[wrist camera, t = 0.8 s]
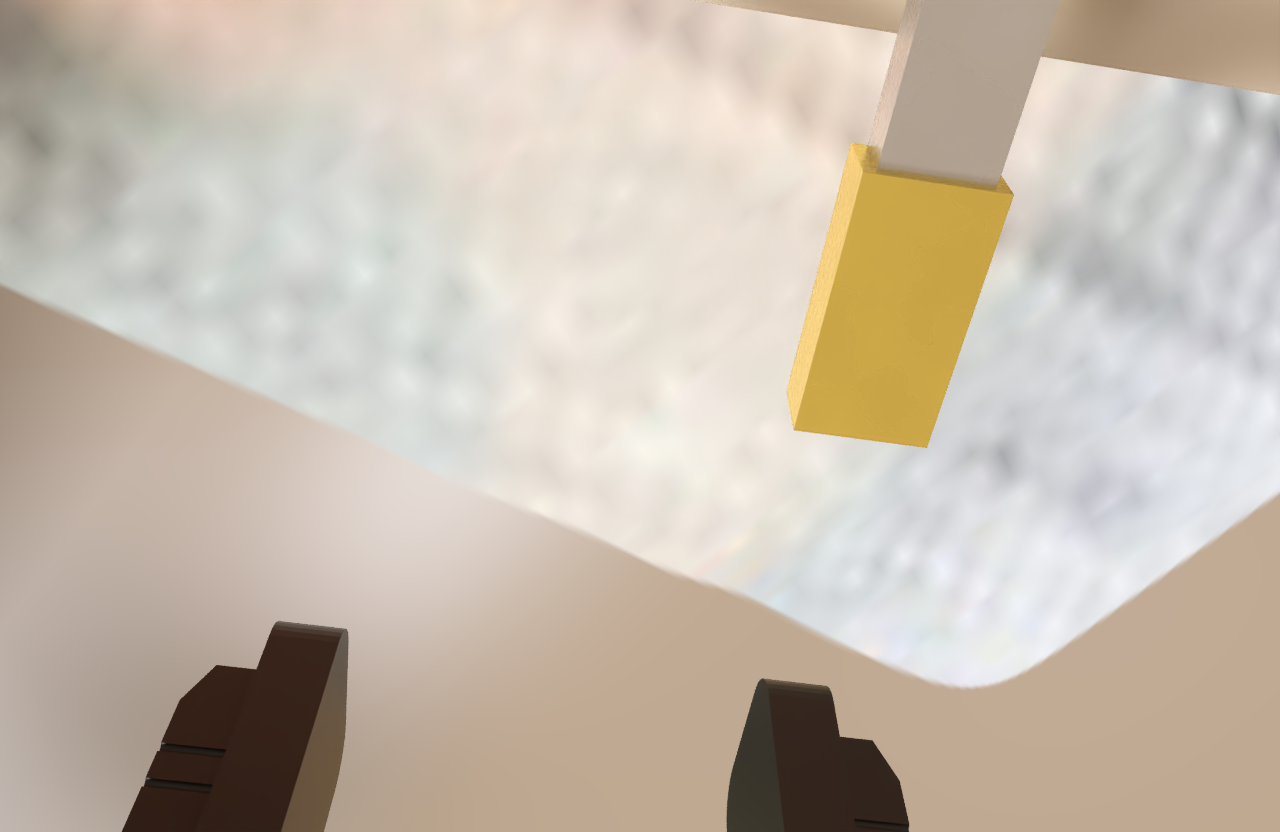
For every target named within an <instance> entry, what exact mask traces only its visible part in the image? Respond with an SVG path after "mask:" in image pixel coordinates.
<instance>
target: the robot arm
mask: <svg viewBox="0 0 1280 832" xmlns="http://www.w3.org/2000/svg"><path fill="white" fill-rule="evenodd" d="M347 669H348V631H347V629H342V628H334V627H325V626H316V625H308V624H299V623H291V622H282V621H278V622H276V623H275V625H274V627H273V628H272V630H271V633H270V635H269V638H268V640H267V643H266V646H265V649H264V651H263V654H262V656H261V659H260V661H259V664H258V667H257V669H247V668H237V667H229V666H220V665H216V666H215V667H214V668H213V669H212V670H211V671H210V672H209V673H208V674H207V675H206V676H205V677H204V678H203V679H201V680H200V681H199V682H198V683H197V684H196V685H195V686H194V687H193V688H192V689H191V690H190V691H189V692H188V693H187V694H186V695H185V696H184V697H182V698H181V699H180V701H179V703H178V705H177V708H176V710H175V712H174V714H173V717H172V719H171V721H170V724H169V726H168V728H167V730H166V733H165V735H164V737H163V740H162V742H161V748H160V751H157V753H156V755H155V758H154V760H153V762H152V764H151V767H150V769H149V771H148V774H147V776H146V781H145V785H144V787H141V789H140V792H139V794H138V796H137V798H136V801H135V803H134V805H133V808H132V810H131V812H130V814H129V817H128V819H127V821H126V824H125V826H124V828H123V830H122V832H324V829H325V825H326V821H327V818H328V813H329V810H330V806H331V803H332V799H333V796H334V792H335V788H336V784H337V780H338V775H339V770H340V765H341V759H342V754H343V746H344V739H345V726H346V699H347V698H346V697H347ZM908 829H909V821H908V816H907V812H906V807H905V803H904V799H903V794H902V789H901V785H900V781H899V779H898V778H897V776H896V775H895V773H894V772H893V770H892V769H891V767H890V766H889V765H888V763H887V762H886V760H885V758H884V757H883V756H882V754H881V753H880V751H879V750H878V748H877V747H876V745H875V744H874V742H873V741H872V740H863V739H854V738H846V737H840V735H839V730H838V724H837V718H836V713H835V707H834V701H833V697H832V693H831V691H830V689H829V687H827V686H822V685H813V684H805V683H796V682H786V681H779V680H770V679H761V680H760V681H759V682H758V684H757V687H756V690H755V693H754V696H753V700H752V703H751V707H750V710H749V714H748V717H747V720H746V724H745V727H744V731H743V734H742V738H741V741H740V745H739V748H738V752H737V755H736V758H735V762H734V765H733V769H732V773H731V778H730V785H729V792H728V801H727V832H909V830H908Z"/></svg>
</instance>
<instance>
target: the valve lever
mask: <svg viewBox="0 0 1280 832" xmlns="http://www.w3.org/2000/svg"><path fill="white" fill-rule="evenodd" d="M1058 3H1059V0H907V1H906V5H905V8H904V12H903V16H902V20H901V23H900V27H899V31H898V35H897V38H896V42H895V46H894V50H893V53H892V57H891V61H890V64H889V68H888V72H887V76H886V79H885V83H884V87H883V91H882V94H881V98H880V102H879V106H878V109H877V113H876V117H875V120H874V124H873V128H872V132H871V135H870V139H869V143H868V145H862V144H856V143H851V145H850V149H849V153H848V157H847V160H846V164H845V168H844V172H843V176H842V180H841V183H840V187H839V191H838V195H837V199H836V203H835V207H834V210H833V214H832V218H831V222H830V226H829V230H828V234H827V237H826V241H825V245H824V249H823V253H822V257H821V260H820V264H819V268H818V272H817V276H816V280H815V284H814V287H813V291H812V295H811V299H810V303H809V307H808V311H807V314H806V318H805V322H804V326H803V330H802V334H801V337H800V341H799V345H798V349H797V353H796V357H795V361H794V364H793V368H792V372H791V376H790V380H789V384H788V388H787V391H786V392H787V397H788V403H789V408H790V413H791V419H792V424H793V429H794V430H796V431H804V432H812V433H819V434H827V435H834V436H842V437H849V438H857V439H864V440H872V441H879V442H887V443H894V444H902V445H909V446H917V447H924V448H927V446H928V443H929V440H930V437H931V434H932V431H933V428H934V426H935V423H936V420H937V417H938V414H939V411H940V408H941V405H942V402H943V399H944V396H945V394H946V391H947V388H948V385H949V382H950V379H951V376H952V373H953V370H954V367H955V365H956V362H957V359H958V356H959V353H960V350H961V347H962V344H963V341H964V338H965V336H966V333H967V330H968V327H969V324H970V321H971V318H972V315H973V312H974V309H975V306H976V304H977V301H978V298H979V295H980V292H981V289H982V286H983V283H984V280H985V277H986V275H987V272H988V269H989V266H990V263H991V260H992V257H993V254H994V251H995V248H996V245H997V243H998V240H999V237H1000V234H1001V231H1002V228H1003V225H1004V222H1005V219H1006V216H1007V214H1008V211H1009V208H1010V205H1011V202H1012V199H1013V196H1014V194H1013V193H1012V191H1011V190H1010V188H1009V187H1008V185H1007V184H1006V182H1005V181H1004V179H1003V178H1002V176H1001V174H1002V171H1003V168H1004V165H1005V162H1006V159H1007V156H1008V153H1009V150H1010V147H1011V144H1012V141H1013V138H1014V135H1015V132H1016V129H1017V126H1018V123H1019V120H1020V117H1021V114H1022V111H1023V108H1024V105H1025V102H1026V99H1027V96H1028V93H1029V90H1030V87H1031V84H1032V81H1033V78H1034V75H1035V72H1036V69H1037V66H1038V63H1039V60H1040V57H1041V54H1042V51H1043V48H1044V45H1045V42H1046V39H1047V36H1048V33H1049V30H1050V27H1051V24H1052V21H1053V18H1054V15H1055V12H1056V9H1057V6H1058Z"/></svg>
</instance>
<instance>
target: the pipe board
mask: <svg viewBox="0 0 1280 832" xmlns="http://www.w3.org/2000/svg"><path fill="white" fill-rule="evenodd" d="M694 1H700V2H706V3H712V4H718V5H725V6H731V7H737V8H743V9H750V10H756V11H762V12H768V13H774V14H781V15H787V16H793V17H799V18H805V19H812V20H818V21H824V22H830V23H837V24H843V25H849V26H855V27H861V28H868V29H874V30H880V31H886V32H892V33H898V31H899V27H900V23H901V20H902V16H903V12H904V8H905V5H906V1H907V0H694ZM1041 56H1042V57H1048V58H1054V59H1060V60H1066V61H1073V62H1079V63H1085V64H1091V65H1098V66H1104V67H1110V68H1116V69H1122V70H1129V71H1135V72H1141V73H1147V74H1153V75H1160V76H1166V77H1172V78H1178V79H1185V80H1191V81H1197V82H1203V83H1209V84H1216V85H1222V86H1228V87H1234V88H1240V89H1247V90H1253V91H1259V92H1265V93H1272V94H1278V95H1280V0H1059V3H1058V6H1057V9H1056V12H1055V15H1054V18H1053V21H1052V24H1051V27H1050V30H1049V33H1048V36H1047V39H1046V42H1045V45H1044V48H1043V51H1042V54H1041Z"/></svg>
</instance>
